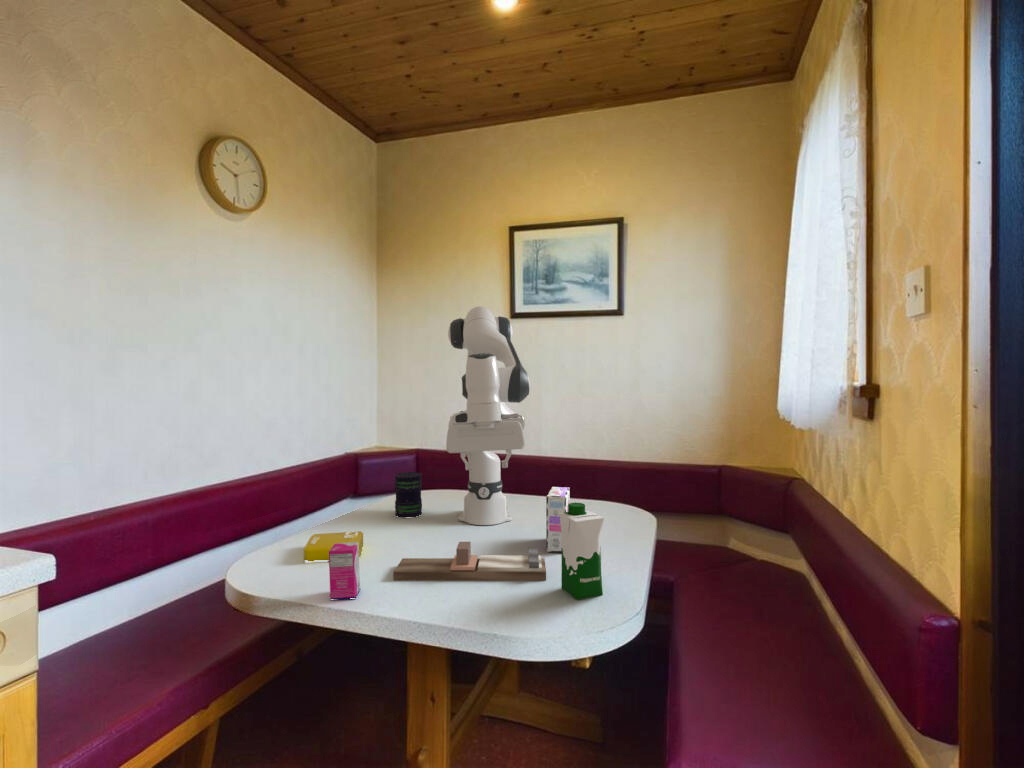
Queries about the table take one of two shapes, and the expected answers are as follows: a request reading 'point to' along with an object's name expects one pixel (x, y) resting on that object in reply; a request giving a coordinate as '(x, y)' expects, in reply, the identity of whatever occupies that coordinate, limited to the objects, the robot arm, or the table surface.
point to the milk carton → (581, 552)
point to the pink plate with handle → (464, 557)
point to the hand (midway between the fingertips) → (486, 468)
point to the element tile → (329, 544)
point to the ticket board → (484, 570)
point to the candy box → (555, 516)
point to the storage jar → (408, 494)
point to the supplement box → (344, 570)
